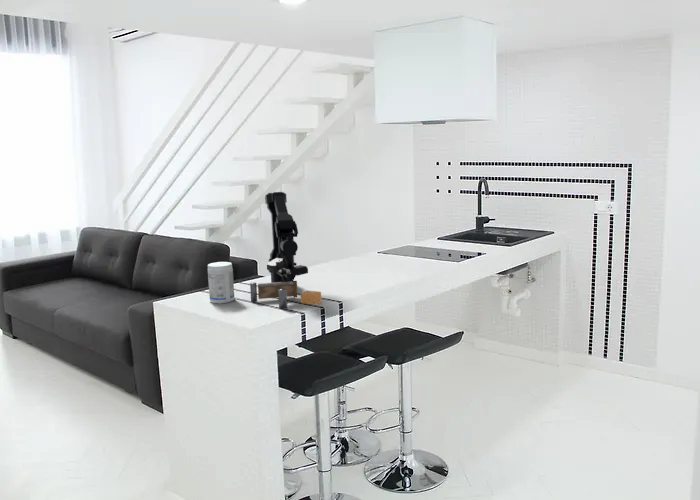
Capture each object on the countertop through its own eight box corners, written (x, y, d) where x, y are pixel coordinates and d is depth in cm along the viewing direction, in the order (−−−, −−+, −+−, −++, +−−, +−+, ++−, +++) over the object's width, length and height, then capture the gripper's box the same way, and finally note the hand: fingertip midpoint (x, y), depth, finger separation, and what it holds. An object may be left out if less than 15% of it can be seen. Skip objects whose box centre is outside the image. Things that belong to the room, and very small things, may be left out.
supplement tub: (225, 296, 262) (223, 260, 259) (239, 300, 255) (237, 263, 253) (204, 301, 255) (202, 264, 252) (219, 305, 248) (216, 267, 246)
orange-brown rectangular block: (300, 303, 249) (300, 293, 248) (307, 300, 253) (307, 290, 253) (314, 304, 246) (314, 294, 246) (321, 301, 251) (320, 291, 250)
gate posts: (249, 301, 253) (248, 283, 251) (255, 300, 255) (254, 282, 254) (282, 309, 240) (282, 290, 239) (288, 307, 242) (288, 288, 241)
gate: (258, 300, 252) (258, 284, 251) (258, 299, 254) (257, 283, 253) (297, 297, 256) (296, 281, 255) (296, 296, 257) (296, 280, 256)
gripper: (255, 251, 256) (257, 289, 259) (285, 256, 243) (287, 297, 246) (277, 246, 264) (279, 284, 267) (308, 251, 251) (309, 291, 254)
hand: (288, 289), depth 258 cm, fingers closed
